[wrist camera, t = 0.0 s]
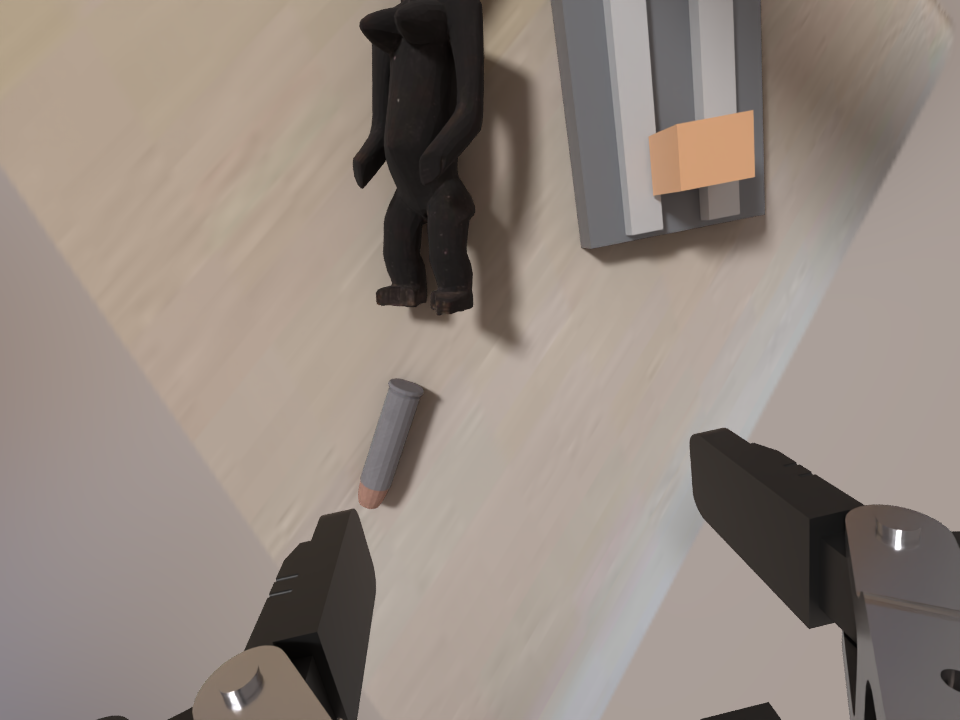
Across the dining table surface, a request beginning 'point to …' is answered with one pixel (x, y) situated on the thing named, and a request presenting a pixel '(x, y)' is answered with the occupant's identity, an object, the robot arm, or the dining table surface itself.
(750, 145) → the block
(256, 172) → the dining table surface
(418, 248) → the figurine
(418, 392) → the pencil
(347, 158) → the dining table surface
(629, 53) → the twin slider track
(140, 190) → the dining table surface
